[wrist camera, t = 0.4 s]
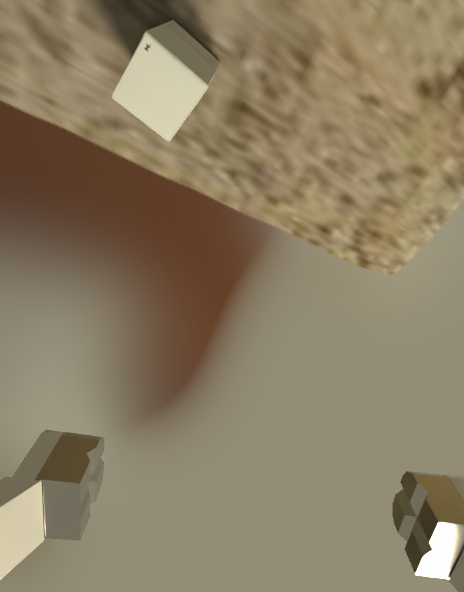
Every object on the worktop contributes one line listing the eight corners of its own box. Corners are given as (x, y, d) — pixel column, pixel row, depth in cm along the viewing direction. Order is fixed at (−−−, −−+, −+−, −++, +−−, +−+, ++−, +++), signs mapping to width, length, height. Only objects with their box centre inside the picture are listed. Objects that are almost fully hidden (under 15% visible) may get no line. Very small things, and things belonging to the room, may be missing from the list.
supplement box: (140, 73, 50) (107, 96, 40) (173, 17, 46) (145, 27, 36) (188, 114, 53) (168, 145, 43) (223, 64, 49) (209, 85, 39)
